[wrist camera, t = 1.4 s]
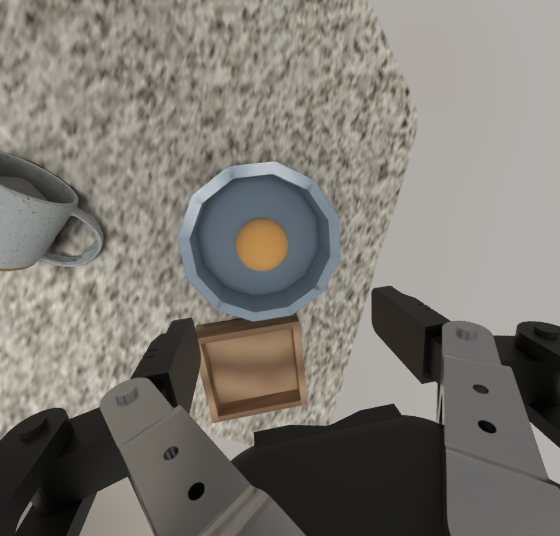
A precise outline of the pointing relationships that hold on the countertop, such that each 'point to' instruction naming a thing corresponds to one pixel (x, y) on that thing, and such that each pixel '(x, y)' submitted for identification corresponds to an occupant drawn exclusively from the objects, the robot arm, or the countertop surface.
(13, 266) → the ceramic mug
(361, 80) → the countertop surface
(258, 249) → the ball
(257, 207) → the faceted grey bowl
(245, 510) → the robot arm
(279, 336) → the tray
